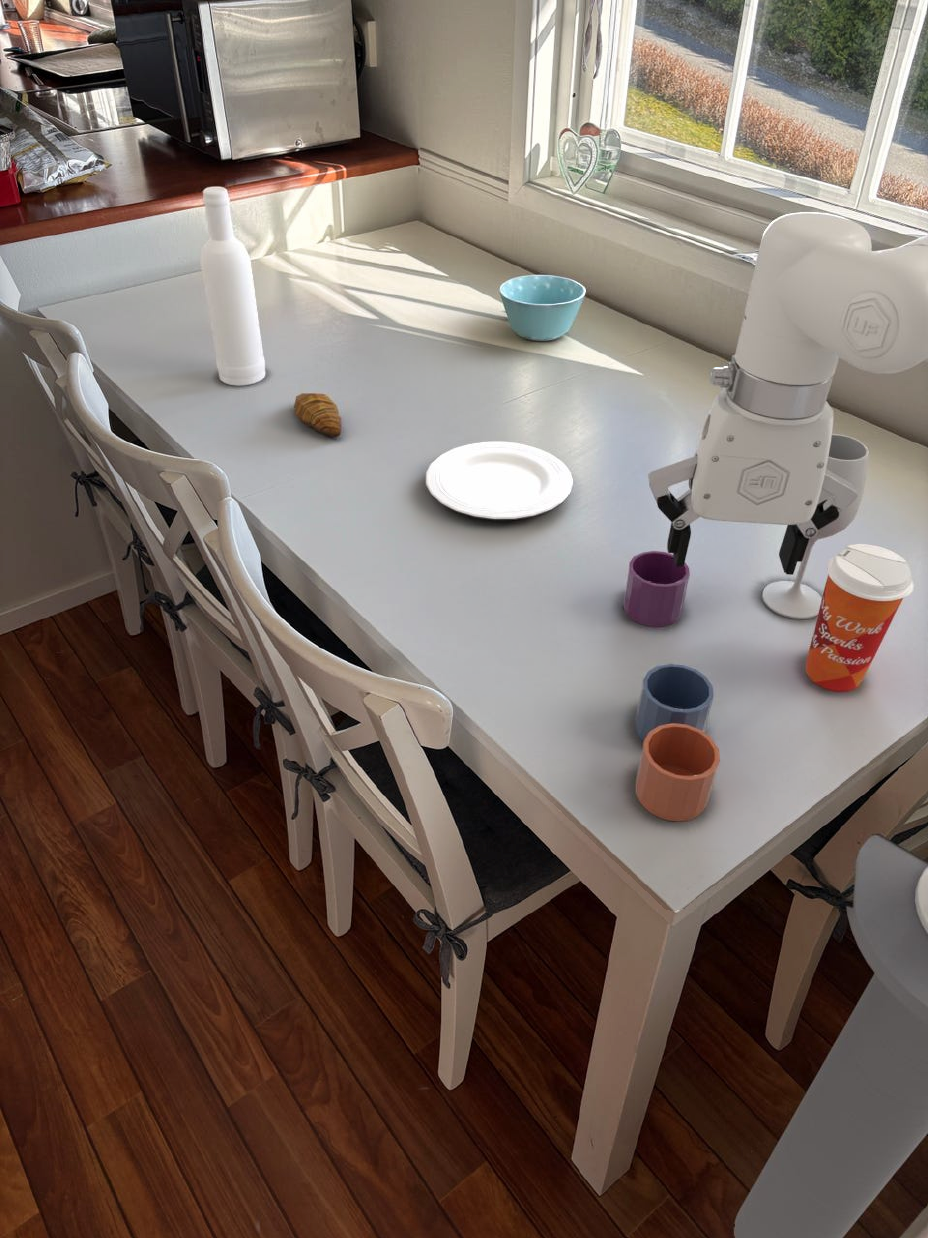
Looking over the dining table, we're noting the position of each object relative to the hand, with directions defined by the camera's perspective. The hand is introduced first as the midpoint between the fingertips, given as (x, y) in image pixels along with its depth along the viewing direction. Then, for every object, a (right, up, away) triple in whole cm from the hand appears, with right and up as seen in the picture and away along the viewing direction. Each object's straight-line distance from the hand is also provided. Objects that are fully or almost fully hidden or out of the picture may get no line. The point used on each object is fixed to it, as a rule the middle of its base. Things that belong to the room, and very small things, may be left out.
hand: (731, 561), depth 83 cm
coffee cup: (+17, -11, +19) cm, 28 cm away
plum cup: (-2, -4, +27) cm, 28 cm away
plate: (-19, +13, +48) cm, 53 cm away
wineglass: (+16, -3, +29) cm, 33 cm away
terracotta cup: (-4, -22, +6) cm, 23 cm away
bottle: (-62, +36, +75) cm, 104 cm away
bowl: (-10, +49, +91) cm, 104 cm away
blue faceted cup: (-3, -17, +12) cm, 21 cm away
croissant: (-47, +26, +62) cm, 82 cm away
